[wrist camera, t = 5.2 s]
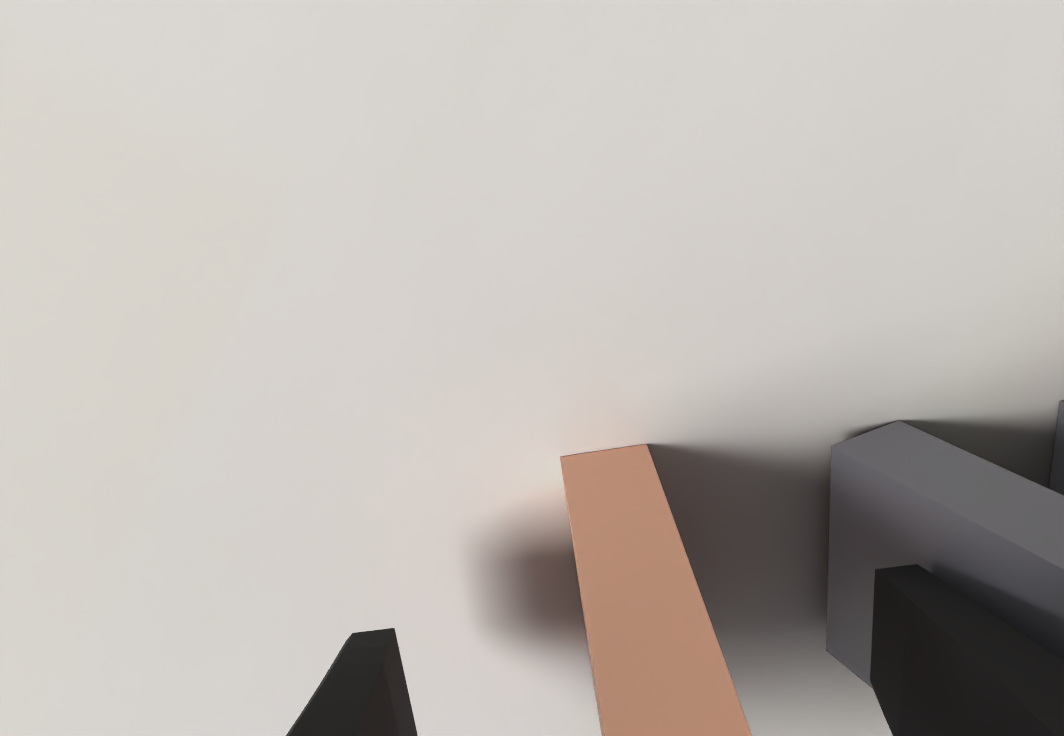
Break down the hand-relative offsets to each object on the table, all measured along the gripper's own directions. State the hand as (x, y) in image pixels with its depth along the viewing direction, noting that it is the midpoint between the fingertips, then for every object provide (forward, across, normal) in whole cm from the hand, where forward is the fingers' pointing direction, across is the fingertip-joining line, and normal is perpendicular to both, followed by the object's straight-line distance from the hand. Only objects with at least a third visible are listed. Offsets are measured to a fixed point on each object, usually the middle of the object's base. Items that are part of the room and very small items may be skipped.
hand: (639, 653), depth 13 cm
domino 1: (+2, 0, 0) cm, 2 cm away
